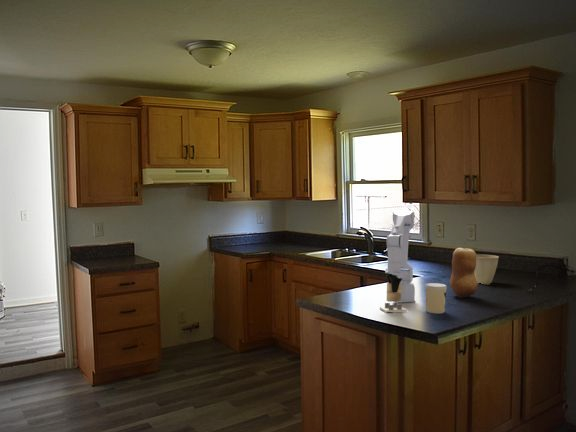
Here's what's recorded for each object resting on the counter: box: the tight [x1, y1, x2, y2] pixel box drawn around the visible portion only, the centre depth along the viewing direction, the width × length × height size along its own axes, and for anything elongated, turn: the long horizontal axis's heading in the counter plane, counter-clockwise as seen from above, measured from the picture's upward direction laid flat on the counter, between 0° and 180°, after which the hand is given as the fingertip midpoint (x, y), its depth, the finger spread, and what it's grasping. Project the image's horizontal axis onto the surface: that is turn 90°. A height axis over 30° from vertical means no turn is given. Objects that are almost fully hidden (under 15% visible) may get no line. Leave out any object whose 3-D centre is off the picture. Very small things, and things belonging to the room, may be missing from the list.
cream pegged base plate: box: [379, 302, 408, 314], centre depth 237 cm, size 10×7×3 cm
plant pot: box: [474, 254, 500, 285], centre depth 305 cm, size 15×15×16 cm
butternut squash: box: [449, 247, 478, 299], centre depth 266 cm, size 14×13×25 cm
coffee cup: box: [424, 282, 448, 314], centre depth 236 cm, size 9×9×12 cm
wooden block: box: [386, 282, 401, 303], centre depth 237 cm, size 6×2×8 cm, turn 102°
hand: (393, 291), depth 237 cm, fingers closed on wooden block, 2 cm apart
